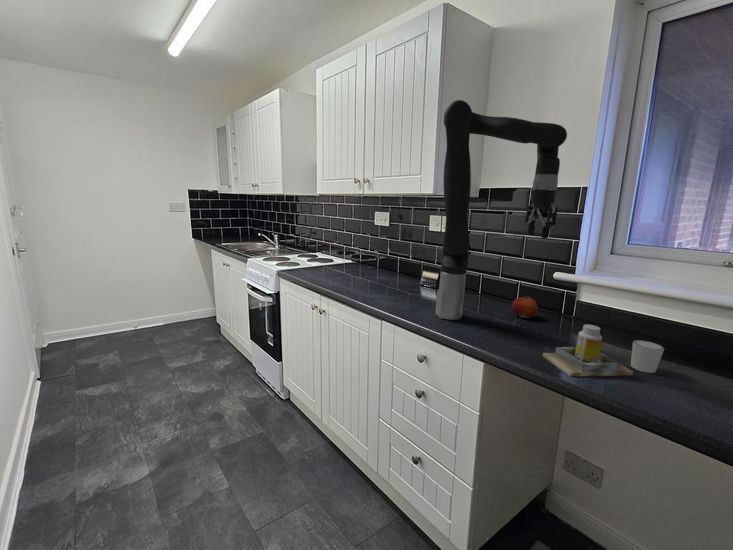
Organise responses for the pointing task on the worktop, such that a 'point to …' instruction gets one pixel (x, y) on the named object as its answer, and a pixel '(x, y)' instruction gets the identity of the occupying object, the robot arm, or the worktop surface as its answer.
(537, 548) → the soap mold
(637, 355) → the shot glass
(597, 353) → the supplement bottle
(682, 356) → the worktop surface
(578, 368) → the holder
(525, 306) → the tomato
